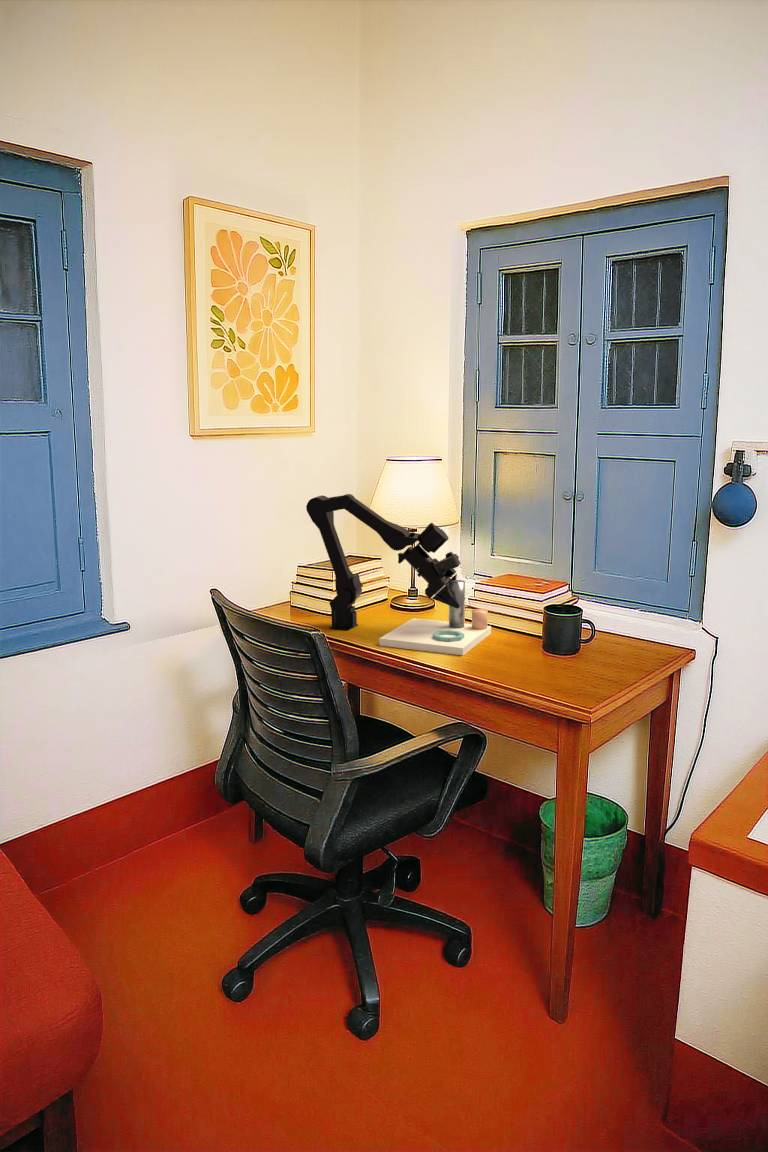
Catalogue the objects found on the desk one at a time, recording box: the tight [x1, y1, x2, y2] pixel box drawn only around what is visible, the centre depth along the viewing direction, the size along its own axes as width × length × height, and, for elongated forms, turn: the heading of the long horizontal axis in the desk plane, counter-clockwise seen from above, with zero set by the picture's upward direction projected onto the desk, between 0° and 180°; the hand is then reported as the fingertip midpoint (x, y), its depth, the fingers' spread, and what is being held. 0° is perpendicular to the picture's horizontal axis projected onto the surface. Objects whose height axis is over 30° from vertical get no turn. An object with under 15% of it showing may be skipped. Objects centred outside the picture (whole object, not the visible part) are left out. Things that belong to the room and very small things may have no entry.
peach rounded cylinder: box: [471, 608, 489, 630], centre depth 247 cm, size 4×4×5 cm
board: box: [378, 617, 492, 656], centre depth 244 cm, size 24×24×3 cm
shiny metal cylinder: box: [448, 579, 466, 628], centre depth 248 cm, size 4×4×13 cm
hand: (461, 603), depth 248 cm, fingers open, 9 cm apart
